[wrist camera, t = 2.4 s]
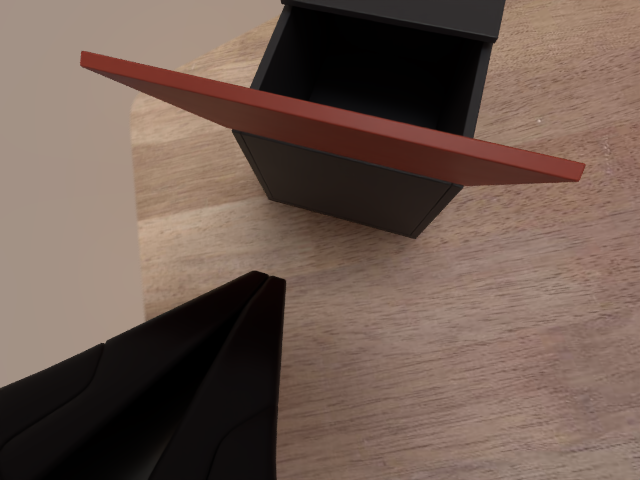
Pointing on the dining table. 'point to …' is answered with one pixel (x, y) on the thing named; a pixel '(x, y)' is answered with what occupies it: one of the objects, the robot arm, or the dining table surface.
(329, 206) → the black flip box
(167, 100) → the lid
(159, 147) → the dining table surface
